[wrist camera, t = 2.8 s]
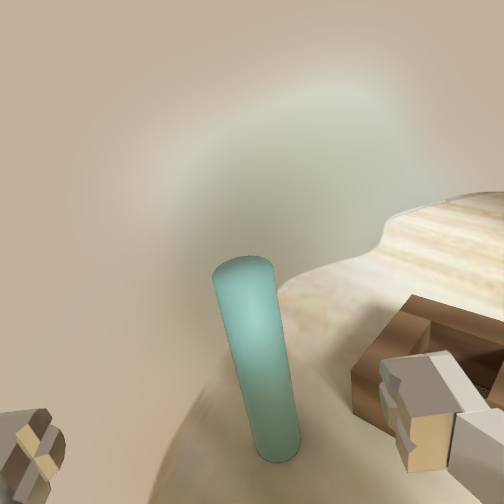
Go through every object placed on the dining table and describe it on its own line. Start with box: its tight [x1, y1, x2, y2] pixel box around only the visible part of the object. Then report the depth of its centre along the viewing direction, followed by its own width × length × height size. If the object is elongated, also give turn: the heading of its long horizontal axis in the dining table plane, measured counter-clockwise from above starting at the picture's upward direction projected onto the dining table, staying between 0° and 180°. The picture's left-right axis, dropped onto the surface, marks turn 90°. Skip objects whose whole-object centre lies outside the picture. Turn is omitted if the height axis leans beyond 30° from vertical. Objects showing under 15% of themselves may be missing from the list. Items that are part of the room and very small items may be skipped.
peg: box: [212, 256, 301, 463], centre depth 26 cm, size 4×4×16 cm
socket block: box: [351, 294, 504, 438], centre depth 29 cm, size 11×11×5 cm
